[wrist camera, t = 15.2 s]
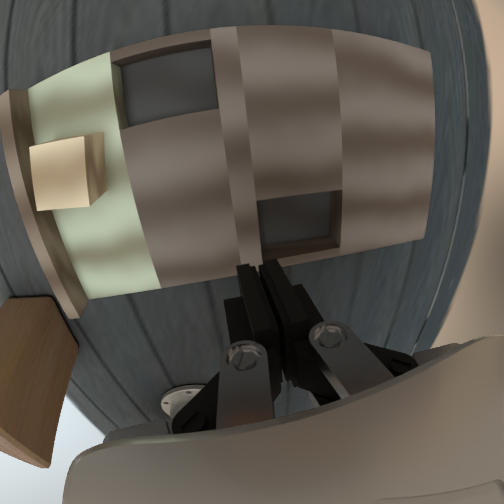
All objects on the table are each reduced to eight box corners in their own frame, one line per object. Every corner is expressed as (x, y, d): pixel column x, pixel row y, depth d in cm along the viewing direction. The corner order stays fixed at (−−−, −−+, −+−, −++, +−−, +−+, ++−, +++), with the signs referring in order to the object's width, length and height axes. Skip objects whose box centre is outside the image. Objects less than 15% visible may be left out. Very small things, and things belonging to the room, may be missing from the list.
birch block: (107, 190, 20) (89, 206, 16) (59, 194, 19) (37, 211, 15) (104, 131, 17) (84, 136, 14) (54, 139, 16) (29, 146, 13)
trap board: (409, 227, 30) (439, 250, 25) (86, 284, 27) (68, 319, 22) (412, 54, 20) (449, 51, 14) (32, 95, 16) (-3, 97, 11)
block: (35, 346, 30) (-1, 451, 13) (6, 295, 25) (-54, 405, 8) (82, 348, 31) (53, 473, 14) (53, 292, 26) (-8, 430, 9)
